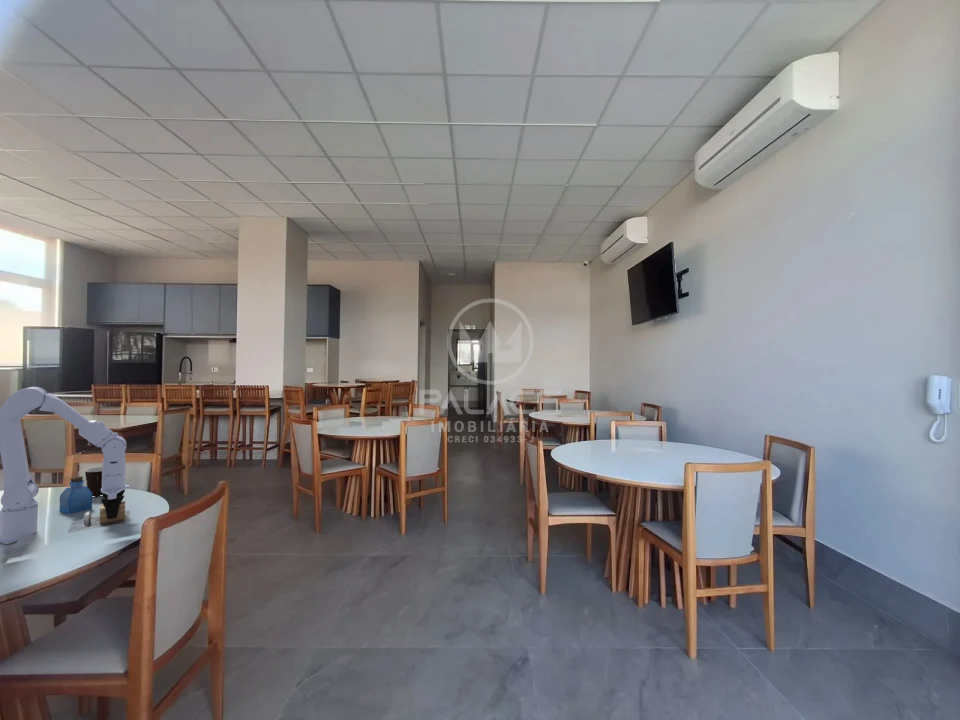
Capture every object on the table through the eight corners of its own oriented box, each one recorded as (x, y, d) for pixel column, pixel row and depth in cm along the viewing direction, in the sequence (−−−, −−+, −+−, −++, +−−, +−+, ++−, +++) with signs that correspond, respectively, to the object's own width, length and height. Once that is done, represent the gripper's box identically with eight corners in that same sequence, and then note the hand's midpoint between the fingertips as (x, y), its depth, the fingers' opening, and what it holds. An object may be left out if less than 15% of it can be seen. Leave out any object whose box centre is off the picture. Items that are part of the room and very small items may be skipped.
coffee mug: (94, 491, 166) (95, 466, 166) (119, 491, 167) (120, 466, 167) (71, 501, 154) (72, 474, 154) (98, 500, 156) (99, 473, 156)
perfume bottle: (91, 511, 144) (92, 476, 145) (68, 517, 139) (69, 481, 139) (82, 508, 147) (83, 474, 147) (59, 513, 141) (60, 478, 142)
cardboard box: (124, 518, 135) (124, 504, 135) (99, 523, 131) (99, 508, 131) (124, 514, 139) (125, 500, 139) (100, 518, 135) (101, 503, 135)
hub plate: (67, 535, 124) (67, 522, 124) (73, 522, 134) (73, 510, 134) (128, 524, 133) (129, 512, 133) (129, 513, 143) (130, 501, 143)
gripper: (129, 476, 132) (128, 519, 132) (130, 467, 144) (129, 507, 143) (99, 480, 128) (98, 524, 128) (102, 470, 139) (101, 511, 139)
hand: (112, 515), depth 135 cm, fingers closed on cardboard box, 5 cm apart
